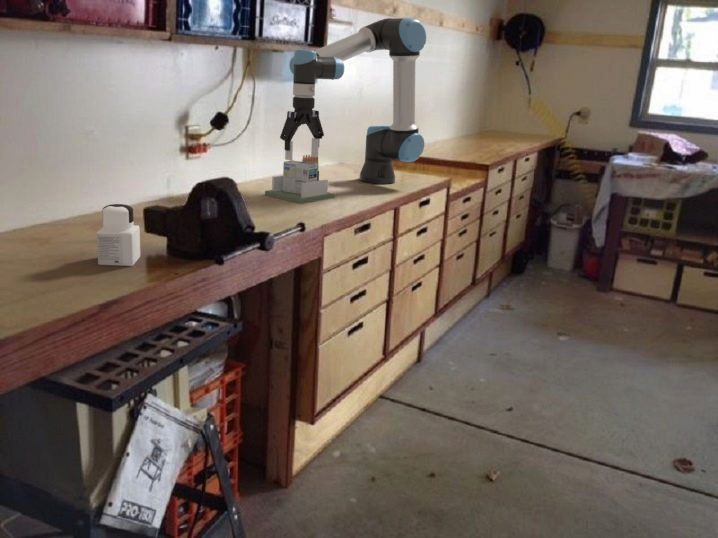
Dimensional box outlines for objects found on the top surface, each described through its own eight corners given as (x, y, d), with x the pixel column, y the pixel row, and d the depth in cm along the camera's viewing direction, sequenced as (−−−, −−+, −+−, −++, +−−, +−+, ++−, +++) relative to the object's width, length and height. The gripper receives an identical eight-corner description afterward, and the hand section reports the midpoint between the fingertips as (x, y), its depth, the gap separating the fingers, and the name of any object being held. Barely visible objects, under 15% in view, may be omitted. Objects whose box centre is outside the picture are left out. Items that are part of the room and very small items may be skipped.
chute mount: (299, 189, 254) (299, 172, 252) (333, 197, 244) (334, 179, 242) (264, 195, 240) (265, 176, 238) (300, 203, 230) (300, 184, 228)
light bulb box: (317, 193, 242) (318, 163, 239) (308, 195, 236) (309, 165, 233) (291, 189, 246) (292, 159, 243) (281, 191, 240) (282, 161, 237)
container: (107, 255, 159) (104, 201, 155) (140, 256, 159) (139, 203, 155) (97, 265, 151) (95, 208, 147) (133, 266, 152) (131, 210, 148)
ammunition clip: (303, 186, 261) (304, 155, 258) (299, 185, 262) (300, 154, 259) (318, 183, 270) (320, 153, 266) (315, 182, 271) (316, 152, 267)
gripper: (286, 98, 220) (285, 162, 226) (335, 97, 239) (332, 156, 246) (270, 96, 224) (269, 159, 231) (319, 95, 243) (317, 154, 250)
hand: (302, 158), depth 238 cm, fingers open, 13 cm apart
